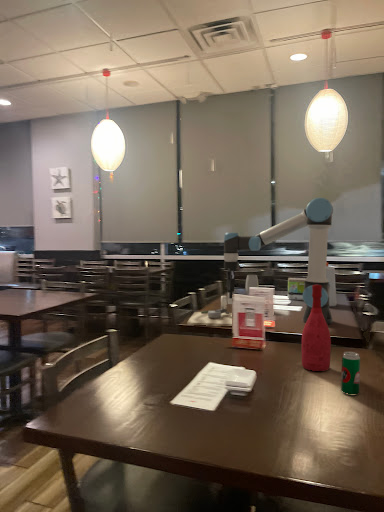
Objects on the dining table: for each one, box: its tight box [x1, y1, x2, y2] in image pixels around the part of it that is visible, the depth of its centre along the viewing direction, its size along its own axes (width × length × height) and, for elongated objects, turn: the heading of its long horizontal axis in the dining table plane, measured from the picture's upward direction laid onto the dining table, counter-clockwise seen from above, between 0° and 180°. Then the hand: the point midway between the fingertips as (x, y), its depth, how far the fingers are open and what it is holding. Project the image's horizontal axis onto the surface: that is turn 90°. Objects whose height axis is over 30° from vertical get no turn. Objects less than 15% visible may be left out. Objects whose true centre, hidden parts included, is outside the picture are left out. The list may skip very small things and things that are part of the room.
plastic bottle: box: [326, 261, 337, 308], centre depth 250 cm, size 15×15×28 cm
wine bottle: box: [301, 284, 332, 372], centre depth 135 cm, size 10×10×30 cm
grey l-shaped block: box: [208, 295, 228, 319], centre depth 211 cm, size 14×7×10 cm, turn 141°
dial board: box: [186, 310, 233, 327], centre depth 209 cm, size 26×26×3 cm
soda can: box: [340, 351, 361, 395], centre depth 115 cm, size 5×5×12 cm
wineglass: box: [245, 274, 260, 296], centre depth 239 cm, size 9×9×21 cm
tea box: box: [287, 277, 307, 301], centre depth 273 cm, size 15×10×15 cm, turn 81°
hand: (230, 303), depth 209 cm, fingers closed
